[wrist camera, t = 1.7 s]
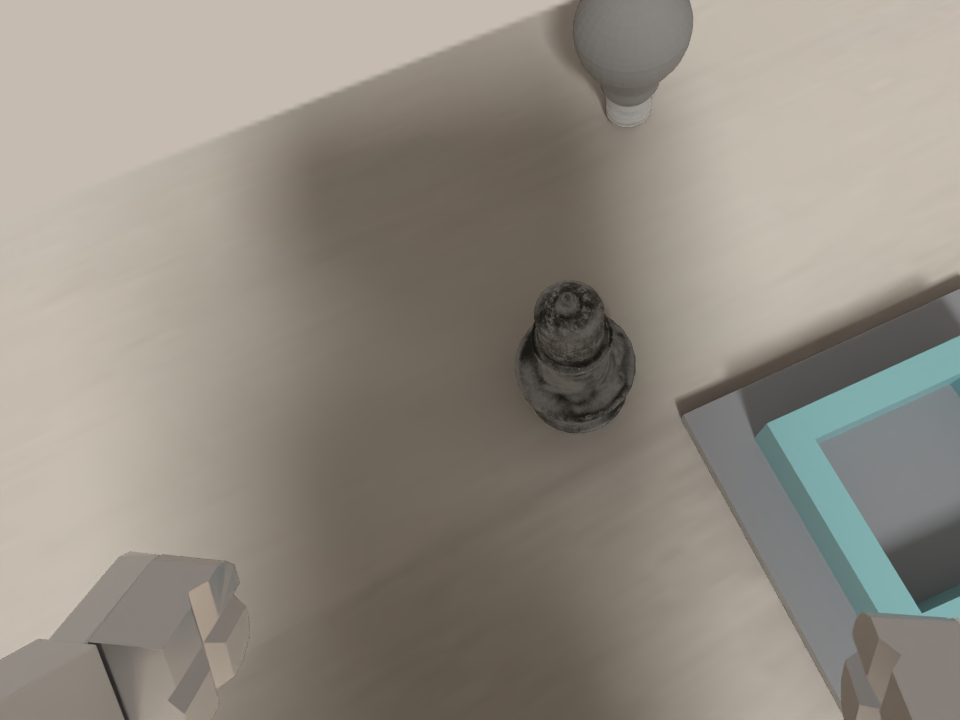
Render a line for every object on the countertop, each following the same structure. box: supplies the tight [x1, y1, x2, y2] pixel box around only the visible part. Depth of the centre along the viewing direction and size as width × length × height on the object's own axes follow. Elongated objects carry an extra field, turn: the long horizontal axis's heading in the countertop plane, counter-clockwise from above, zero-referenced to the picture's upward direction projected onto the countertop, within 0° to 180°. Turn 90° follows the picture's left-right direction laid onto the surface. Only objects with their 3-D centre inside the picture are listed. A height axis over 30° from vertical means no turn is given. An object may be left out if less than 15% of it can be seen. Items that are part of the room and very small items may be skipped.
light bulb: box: [573, 0, 693, 127], centre depth 40 cm, size 6×6×10 cm
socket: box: [681, 289, 960, 714], centre depth 34 cm, size 16×16×4 cm
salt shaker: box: [515, 281, 635, 433], centre depth 34 cm, size 6×6×12 cm
